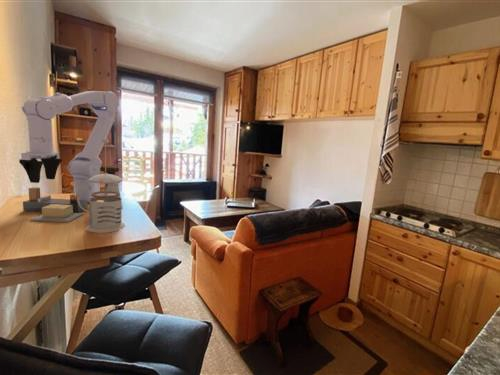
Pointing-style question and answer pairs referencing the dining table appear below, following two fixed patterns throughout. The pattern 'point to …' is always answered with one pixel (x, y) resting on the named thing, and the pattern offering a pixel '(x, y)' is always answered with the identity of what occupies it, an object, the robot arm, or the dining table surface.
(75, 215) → the mat
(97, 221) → the french press
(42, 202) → the plane body
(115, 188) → the salt shaker
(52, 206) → the beige block
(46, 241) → the dining table surface
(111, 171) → the bolt
